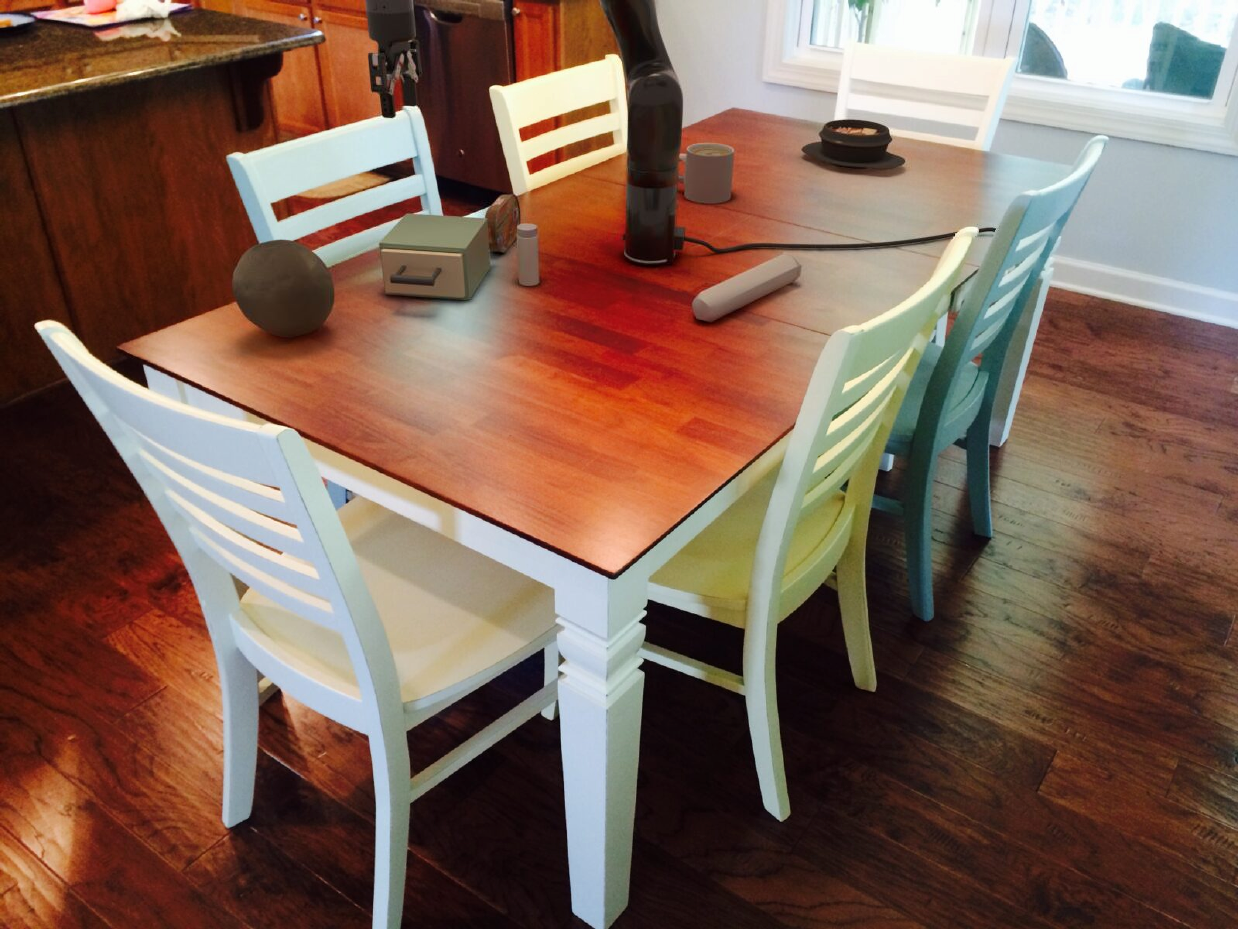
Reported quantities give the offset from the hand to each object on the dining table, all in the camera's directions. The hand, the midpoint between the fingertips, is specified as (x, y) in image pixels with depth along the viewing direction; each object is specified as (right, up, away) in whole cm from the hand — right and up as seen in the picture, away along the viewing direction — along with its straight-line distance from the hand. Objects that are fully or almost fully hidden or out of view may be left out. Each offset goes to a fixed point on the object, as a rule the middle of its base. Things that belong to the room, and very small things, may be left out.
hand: (400, 111), depth 167 cm
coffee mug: (+55, -2, +46) cm, 72 cm away
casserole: (+92, +12, +68) cm, 115 cm away
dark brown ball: (-13, -40, -14) cm, 45 cm away
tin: (+15, -18, +20) cm, 31 cm away
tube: (+58, -33, -1) cm, 67 cm away
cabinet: (+6, -28, +5) cm, 29 cm away
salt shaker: (+21, -28, +5) cm, 35 cm away
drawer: (+5, -30, 0) cm, 30 cm away
